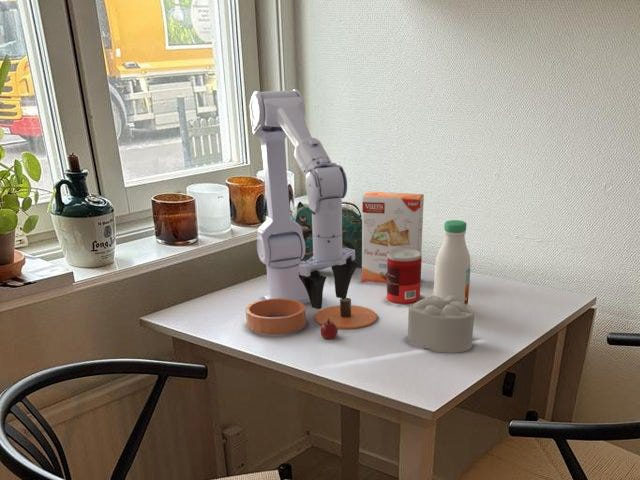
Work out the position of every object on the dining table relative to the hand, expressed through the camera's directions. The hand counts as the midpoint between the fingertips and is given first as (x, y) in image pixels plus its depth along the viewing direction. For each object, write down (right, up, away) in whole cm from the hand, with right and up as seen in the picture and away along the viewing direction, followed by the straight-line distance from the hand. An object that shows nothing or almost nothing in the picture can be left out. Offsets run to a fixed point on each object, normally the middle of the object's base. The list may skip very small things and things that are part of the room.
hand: (329, 302), depth 148 cm
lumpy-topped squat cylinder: (+23, -8, +2) cm, 24 cm away
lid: (+3, 0, +12) cm, 13 cm away
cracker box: (+14, +14, +35) cm, 40 cm away
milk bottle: (+26, +1, +16) cm, 31 cm away
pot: (-12, -3, +10) cm, 16 cm away
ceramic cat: (-2, +20, +45) cm, 49 cm away
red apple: (0, -7, +4) cm, 8 cm away
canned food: (+16, +6, +24) cm, 29 cm away
